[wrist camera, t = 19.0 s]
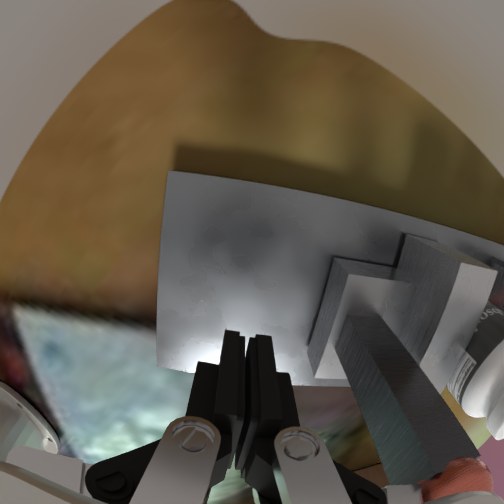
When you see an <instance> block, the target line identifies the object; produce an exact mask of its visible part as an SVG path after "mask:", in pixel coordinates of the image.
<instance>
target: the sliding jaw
mask: <svg viewBox="0 0 504 504" xmlns="http://www.w3.org/2000/svg"><path fill="white" fill-rule="evenodd" d="M497 272H498V271H497V270H495V269H493V268H491V267H489V266H487V265H486V264H484V263H482V262H480V261H478V260H476V259H474V258H472V257H470V256H468V255H466V254H464V253H462V252H460V251H458V250H456V249H454V248H452V247H450V246H448V245H446V244H444V243H440V242H437V241H433V240H429V239H425V238H420V237H416V236H412V235H408V234H406V238H405V242H404V245H403V249H402V253H401V256H400V260H399V263H398V267H397V268H394V267H388V266H382V265H376V264H370V263H364V262H358V261H352V260H346V259H340V258H334V260H333V264H332V268H331V272H330V275H329V279H328V283H327V287H326V290H325V294H324V297H323V301H322V304H321V308H320V311H319V315H318V318H317V321H316V325H315V328H314V331H313V334H312V338H311V341H310V344H309V347H308V350H307V355H308V358H309V362H310V365H311V368H312V372H313V375H314V378H324V379H348V381H349V384H350V386H351V388H352V391H353V393H354V396H355V398H356V400H357V403H358V405H359V408H360V410H361V412H362V415H363V417H364V420H365V422H366V425H367V427H368V430H369V432H370V435H371V437H372V440H373V442H374V445H375V447H376V450H377V452H378V455H379V458H380V460H381V463H382V465H383V468H384V471H385V473H386V476H387V479H388V481H389V484H390V485H413V484H422V489H421V491H422V500H423V503H425V502H428V501H431V500H434V499H438V498H441V497H443V496H447V495H451V494H455V493H459V492H466V491H487V492H493V478H492V474H491V472H490V470H489V469H488V467H487V466H486V465H485V464H484V463H483V462H481V461H480V460H478V458H479V457H480V456H481V455H480V454H479V452H478V450H477V449H476V447H475V446H474V444H473V442H472V441H471V439H470V438H469V436H468V435H467V433H466V432H465V430H464V429H463V427H462V426H461V424H460V423H459V421H458V420H457V418H456V417H455V415H454V414H453V412H452V411H451V409H450V408H449V407H448V405H447V404H446V402H445V401H444V399H443V398H442V397H441V395H440V394H441V393H442V391H443V390H444V388H445V386H446V385H447V383H448V381H449V380H450V378H451V376H452V374H453V373H454V371H455V369H456V367H457V366H458V364H459V362H460V360H461V358H462V356H463V354H464V352H465V350H466V348H467V346H468V344H469V342H470V340H471V338H472V336H473V334H474V332H475V329H476V327H477V325H478V323H479V320H480V318H481V316H482V313H483V311H484V308H485V306H486V303H487V301H488V298H489V295H490V293H491V290H492V287H493V284H494V281H495V278H496V275H497Z"/></svg>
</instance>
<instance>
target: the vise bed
mask: <svg viewBox="0 0 504 504" xmlns="http://www.w3.org/2000/svg"><path fill="white" fill-rule="evenodd" d="M406 234H408V235H412V236H416V237H420V238H425V239H429V240H433V241H437V242H440V243H444V244H446V245H448V246H450V247H452V248H454V249H456V250H458V251H460V252H462V253H464V254H466V255H468V256H470V257H472V258H474V259H476V260H478V261H480V262H482V263H484V264H486V265H487V266H489V267H491V268H493V269H495V270H497V271H498V272H497V275H496V278H495V281H494V284H493V287H492V290H491V293H490V295H489V298H488V301H489V302H490V303H491V304H493V305H494V306H496V307H497V308H498V309H500V310H501V311H502V312H504V245H502V244H499V243H497V242H494V241H491V240H488V239H485V238H482V237H479V236H476V235H473V234H470V233H467V232H464V231H461V230H458V229H455V228H452V227H448V226H445V225H442V224H438V223H435V222H432V221H428V220H425V219H421V218H418V217H414V216H410V215H407V214H403V213H399V212H396V211H392V210H388V209H384V208H380V207H376V206H372V205H368V204H364V203H359V202H355V201H351V200H346V199H342V198H337V197H333V196H328V195H324V194H319V193H314V192H309V191H304V190H299V189H294V188H288V187H283V186H277V185H272V184H266V183H260V182H254V181H248V180H242V179H236V178H229V177H222V176H215V175H208V174H200V173H193V172H184V171H176V170H171V171H168V177H167V184H166V193H165V201H164V210H163V220H162V231H161V243H160V256H159V273H158V295H157V366H160V367H165V368H170V369H175V370H180V371H185V372H191V373H195V371H196V367H197V363H198V361H201V362H207V363H213V364H219V362H220V356H221V350H222V343H223V337H224V331H225V329H226V330H233V331H239V332H240V336H245V356H246V351H247V346H248V342H249V338H250V337H254V338H255V335H256V334H261V335H269V336H272V341H273V349H274V356H275V363H276V370H277V372H286V373H289V374H290V377H291V382H292V385H304V386H334V387H351V386H350V384H349V381H348V379H324V378H314V375H313V372H312V368H311V365H310V362H309V358H308V355H307V350H308V347H309V344H310V341H311V338H312V334H313V331H314V328H315V325H316V321H317V318H318V315H319V311H320V308H321V304H322V301H323V297H324V294H325V290H326V287H327V283H328V279H329V275H330V272H331V268H332V264H333V260H334V258H340V259H346V260H352V261H358V262H364V263H370V264H376V265H382V266H388V267H394V268H397V267H398V263H399V260H400V256H401V253H402V249H403V245H404V242H405V238H406Z"/></svg>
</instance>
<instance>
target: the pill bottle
mask: <svg viewBox="0 0 504 504" xmlns="http://www.w3.org/2000/svg"><path fill="white" fill-rule="evenodd" d="M446 387H447V388H448V390H449V391H450V392H451V394H452V395H453V396H454V398H455V399H456V401H457V402H458V403H459V405H460V406H461V408H462V409H463V410H464V411H465V412H466V413H467V414H468V415H469V416H471V417H486V418H487V419H486V422H487V423H486V426H487V428H488V430H489V431H490V433H491V434H492V435H493V437H494V438H495V439H496V440H500V439H503V438H504V312H502V311H501V310H500V309H498V308H497V307H496V306H494V305H493V304H491V303H490V302H489V301H487V303H486V306H485V308H484V311H483V313H482V316H481V318H480V320H479V323H478V325H477V327H476V329H475V332H474V334H473V336H472V338H471V340H470V342H469V344H468V346H467V348H466V350H465V352H464V354H463V356H462V358H461V360H460V362H459V364H458V366H457V367H456V369H455V371H454V373H453V374H452V376H451V378H450V380H449V381H448V383H447V385H446Z"/></svg>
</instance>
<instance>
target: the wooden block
mask: <svg viewBox="0 0 504 504" xmlns="http://www.w3.org/2000/svg"><path fill="white" fill-rule="evenodd" d="M353 472H354V473H356V474H358V475H360V476H361V477H363V478H365V479H367V480H369V481H371V482H373V483H374V484H376V485H378V486H379V487H380V488H384V487H385V486H386V485H390V484H389V481H388V479H387V476H386V473H385V471H384V468H383V466H382V464H377V465H374V466H371V467H367V468H364V469H360V470H356V471H353Z"/></svg>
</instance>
